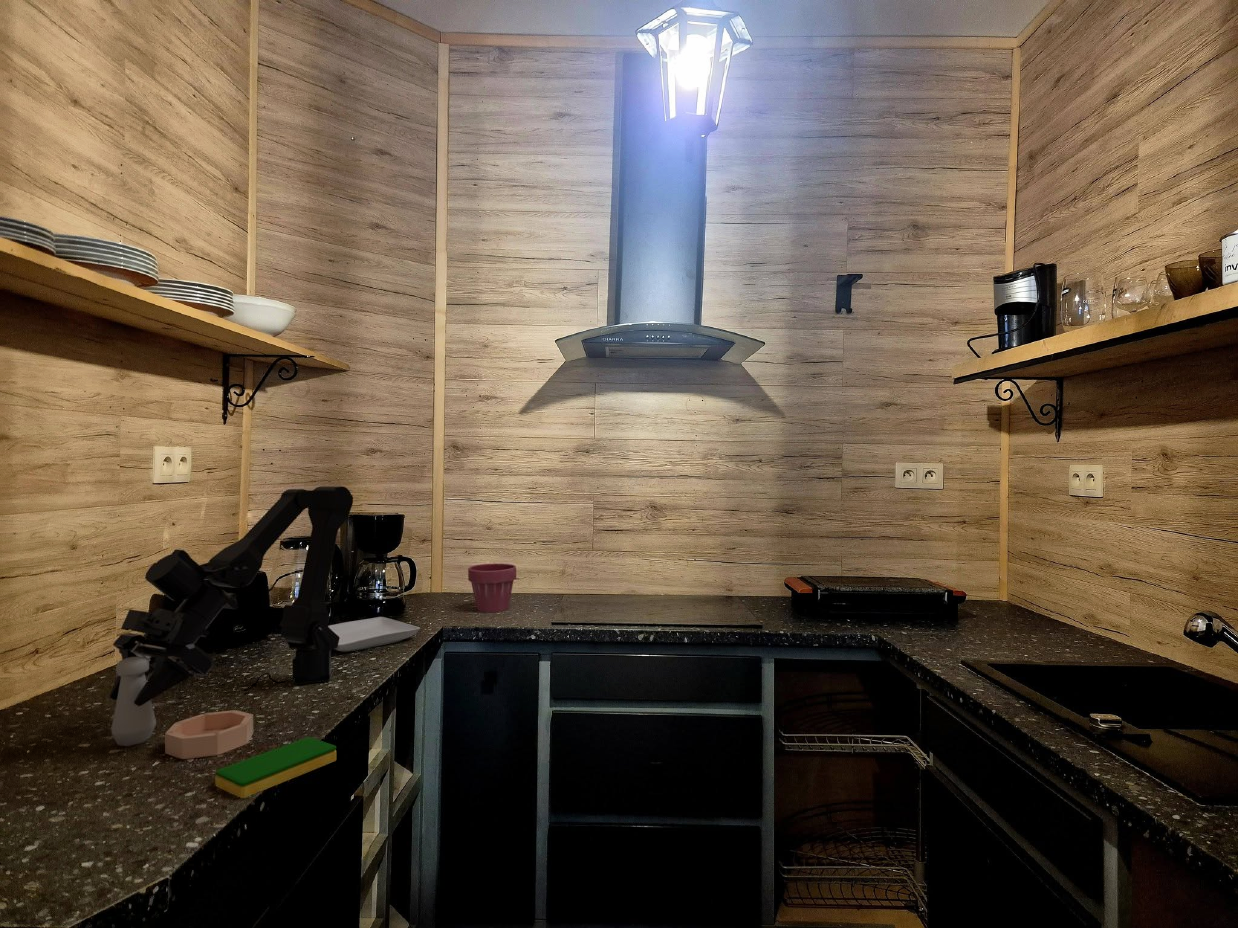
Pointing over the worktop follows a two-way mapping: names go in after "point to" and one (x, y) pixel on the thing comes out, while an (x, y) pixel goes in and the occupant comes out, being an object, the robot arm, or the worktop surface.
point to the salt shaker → (132, 704)
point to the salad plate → (371, 633)
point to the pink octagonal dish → (209, 734)
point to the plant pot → (492, 586)
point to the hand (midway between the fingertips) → (123, 701)
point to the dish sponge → (274, 767)
